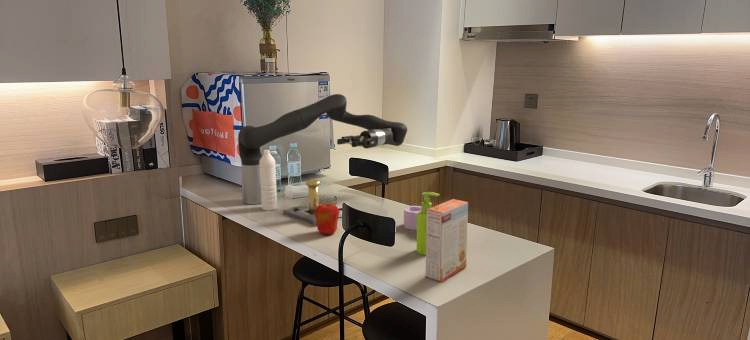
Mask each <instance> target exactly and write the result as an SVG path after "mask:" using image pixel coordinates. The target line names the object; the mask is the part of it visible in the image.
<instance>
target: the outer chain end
mask: <svg viewBox="0 0 750 340" xmlns="http://www.w3.org/2000/svg"><path fill="white" fill-rule="evenodd" d="M297 215H299V216H301V217H304V218H307V219H310V220H313V224H312V225H314V224H315V225H314V226H317V222H316V218H315V214H310V213H309V207H307V209H303V210H300V211H297Z"/></svg>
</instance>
